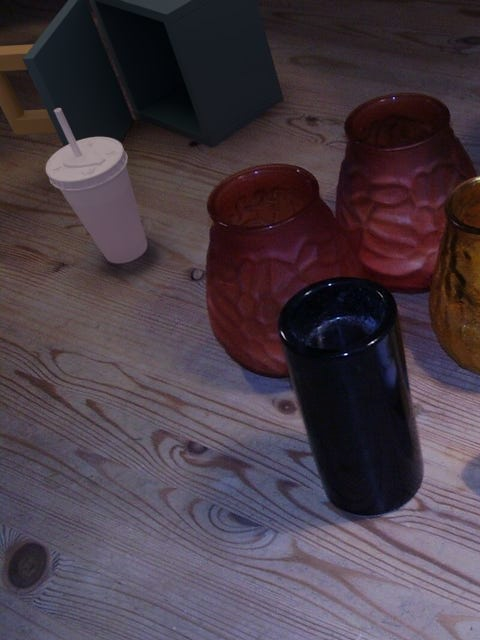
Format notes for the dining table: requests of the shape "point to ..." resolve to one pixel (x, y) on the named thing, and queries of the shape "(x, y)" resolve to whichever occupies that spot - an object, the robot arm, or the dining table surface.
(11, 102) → the cupboard door
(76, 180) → the smoothie
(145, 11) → the cupboard
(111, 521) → the dining table surface
